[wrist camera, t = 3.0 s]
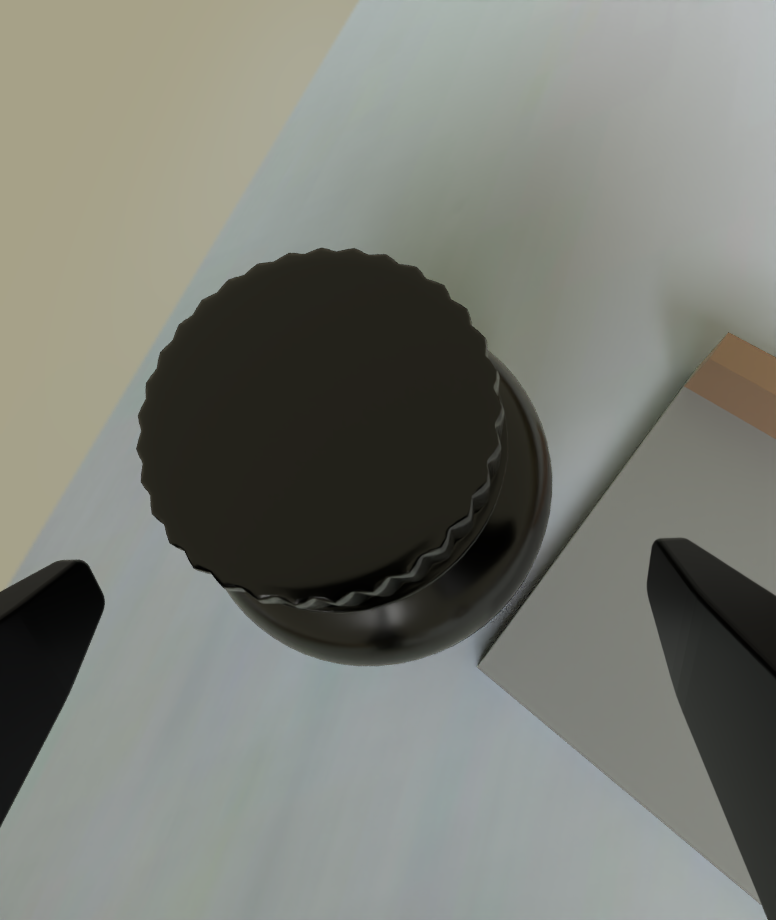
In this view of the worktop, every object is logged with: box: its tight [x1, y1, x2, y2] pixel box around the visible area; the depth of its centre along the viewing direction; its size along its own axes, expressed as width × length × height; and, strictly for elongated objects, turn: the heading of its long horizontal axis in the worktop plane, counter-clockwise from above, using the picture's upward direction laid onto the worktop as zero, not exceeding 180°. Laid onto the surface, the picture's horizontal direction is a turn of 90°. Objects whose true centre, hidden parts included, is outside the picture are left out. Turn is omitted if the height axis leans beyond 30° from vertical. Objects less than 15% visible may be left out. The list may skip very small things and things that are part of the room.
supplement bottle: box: [136, 248, 552, 666], centre depth 12 cm, size 7×7×12 cm
